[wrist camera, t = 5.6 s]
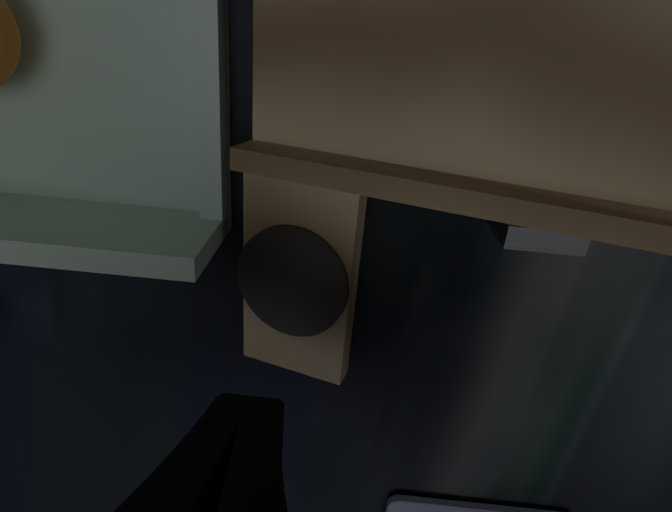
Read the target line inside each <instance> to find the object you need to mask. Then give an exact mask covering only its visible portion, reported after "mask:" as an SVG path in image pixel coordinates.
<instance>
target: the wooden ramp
mask: <svg viewBox="0 0 672 512" xmlns="http://www.w3.org/2000/svg"><path fill="white" fill-rule="evenodd" d="M230 170H233V171H238V172H243V249H242V251H241V253H240V256H239V259H238V264H237V278H238V284H239V287H240V290H241V293H242V295H243V297H244V355H245V356H248V357H251V358H254V359H258V360H261V361H264V362H267V363H270V364H273V365H277V366H280V367H283V368H286V369H289V370H292V371H296V372H299V373H302V374H305V375H308V376H311V377H315V378H318V379H321V380H324V381H327V382H330V383H333V384H337V385H340V384H341V382H342V380H343V379H344V377H345V375H346V373H347V372H348V363H349V355H350V346H351V337H352V328H353V319H354V310H355V301H356V292H357V283H358V275H359V266H360V257H361V248H362V239H363V230H364V221H365V212H366V204H367V197H372V198H377V199H382V200H388V201H393V202H398V203H403V204H408V205H413V206H419V207H424V208H429V209H434V210H439V211H444V212H449V213H455V214H460V215H465V216H470V217H475V218H480V219H485V220H491V221H496V222H501V223H506V224H511V225H516V226H522V227H527V228H532V229H537V230H542V231H547V232H552V233H558V234H563V235H568V236H573V237H578V238H583V239H588V240H594V241H599V242H604V243H609V244H614V245H619V246H624V247H630V248H635V249H640V250H645V251H650V252H655V253H661V254H666V255H671V256H672V0H253V140H250V141H247V142H244V143H241V144H238V145H235V146H232V147H230Z"/></svg>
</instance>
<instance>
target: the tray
mask: <svg viewBox="0 0 672 512" xmlns="http://www.w3.org/2000/svg"><path fill="white" fill-rule="evenodd" d="M4 1H5V2H6V3H7V5H8V6H9V8H10V10H11V11H12V13H13V15H14V17H15V19H16V22H17V25H18V28H19V32H20V37H21V54H20V59H19V62H18V65H17V67H16V69H15V71H14V72H13V74H12V76H11V77H10V78H9V79H8V80H7V81H6V82H5V83H4V84H3V85H2V86H0V263H3V264H13V265H23V266H33V267H43V268H53V269H63V270H74V271H84V272H94V273H104V274H114V275H124V276H134V277H144V278H155V279H165V280H175V281H185V282H196V281H197V279H198V278H199V276H200V275H201V273H202V272H203V270H204V269H205V267H206V266H207V264H208V263H209V261H210V260H211V258H212V257H213V255H214V254H215V252H216V251H217V249H218V248H219V246H220V245H221V243H222V242H223V240H224V239H225V237H226V236H227V234H228V233H229V231H230V230H231V228H232V227H231V170H230V81H229V8H228V0H4Z"/></svg>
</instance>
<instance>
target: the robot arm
mask: <svg viewBox="0 0 672 512" xmlns="http://www.w3.org/2000/svg"><path fill="white" fill-rule="evenodd" d="M283 423H284V403H283V402H282V401H281V400H280V399H276V398H266V397H256V396H247V395H237V394H227V393H221V394H220V395H218V396H217V397H216V398H215V399H214V401H213V402H212V403H211V405H210V406H209V407H208V409H207V410H206V411H205V412H204V414H203V415H202V416H201V417H200V419H199V420H198V421H197V422H196V424H195V425H194V426H193V427H192V428H191V430H190V431H189V432H188V433H187V434H186V435H185V437H184V438H183V439H182V440H181V441H180V443H179V444H178V445H177V446H176V447H175V448H174V449H173V450H172V451H171V453H170V454H169V455H168V456H167V457H166V458H165V459H164V460H163V461H162V463H161V464H160V465H159V466H158V467H157V468H156V469H155V470H154V471H153V472H152V474H151V475H150V476H149V477H148V478H147V479H146V480H145V481H144V482H143V483H142V484H141V485H140V486H139V487H138V488H137V489H136V490H135V491H134V492H133V493H132V494H131V495H130V496H129V497H128V498H127V499H126V500H125V501H124V502H123V503H122V504H121V505H120V506H119V507H118V508H117V509H116V510H115V511H114V512H287V506H286V500H285V493H284V483H283V474H282V446H283ZM385 512H560V511H551V510H541V509H532V508H522V507H513V506H503V505H494V504H485V503H475V502H466V501H456V500H447V499H437V498H428V497H418V496H409V495H393V496H391V497H390V498H389V499H388V501H387V505H386V510H385Z"/></svg>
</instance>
